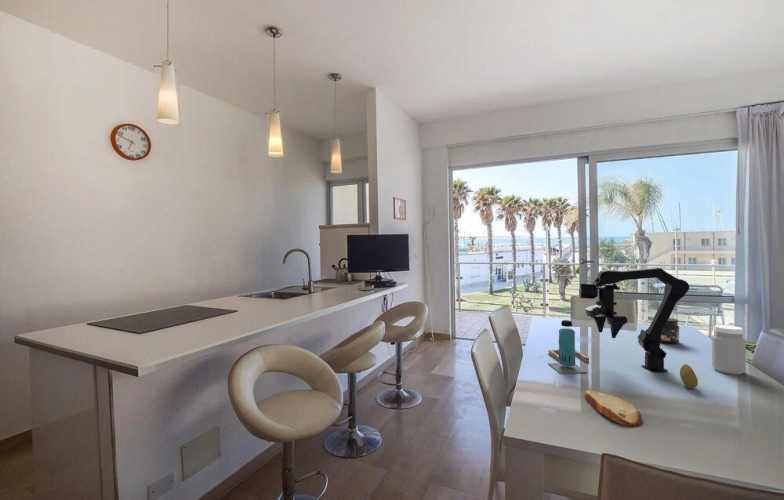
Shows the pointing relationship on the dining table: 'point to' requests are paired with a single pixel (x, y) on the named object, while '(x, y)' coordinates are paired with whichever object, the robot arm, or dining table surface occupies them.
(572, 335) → the beverage bottle
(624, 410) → the bread slice
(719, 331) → the jar
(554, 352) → the frame
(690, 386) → the potato
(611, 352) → the dining table surface
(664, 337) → the supplement container
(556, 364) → the rubber mat
